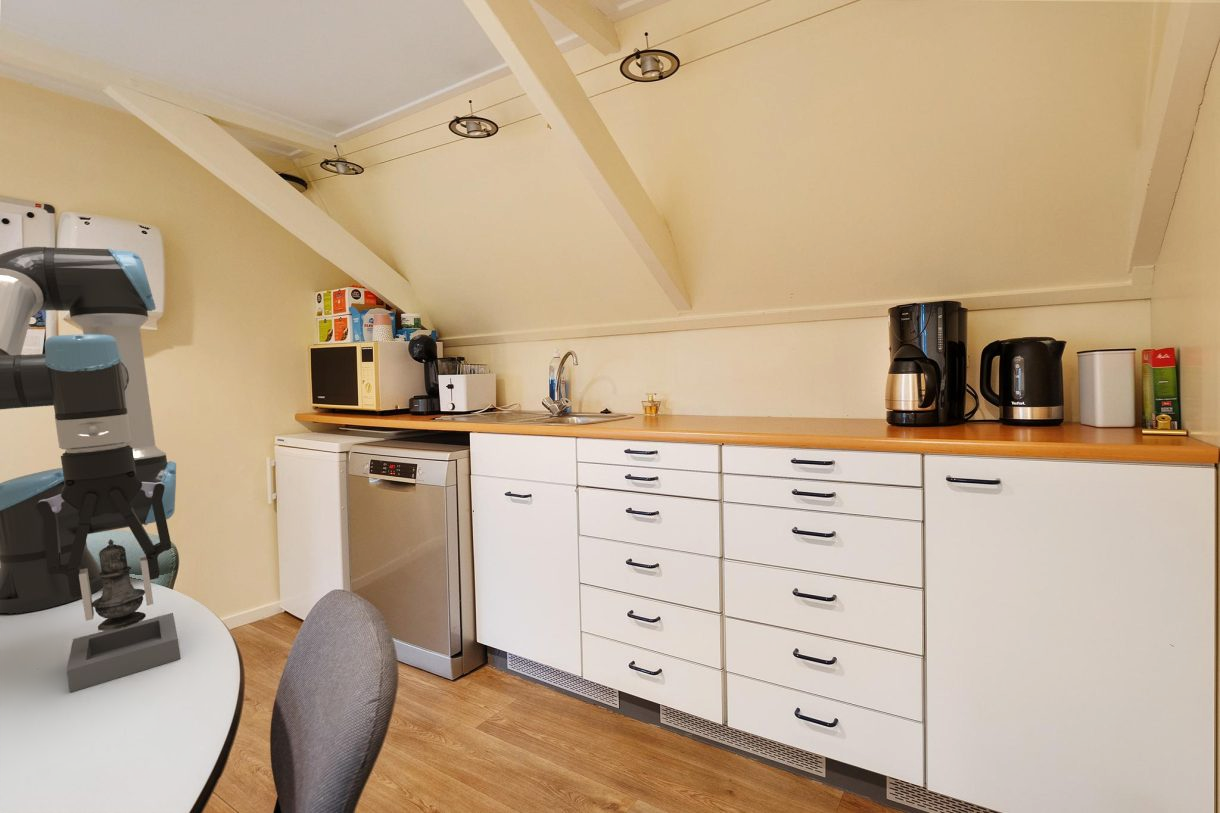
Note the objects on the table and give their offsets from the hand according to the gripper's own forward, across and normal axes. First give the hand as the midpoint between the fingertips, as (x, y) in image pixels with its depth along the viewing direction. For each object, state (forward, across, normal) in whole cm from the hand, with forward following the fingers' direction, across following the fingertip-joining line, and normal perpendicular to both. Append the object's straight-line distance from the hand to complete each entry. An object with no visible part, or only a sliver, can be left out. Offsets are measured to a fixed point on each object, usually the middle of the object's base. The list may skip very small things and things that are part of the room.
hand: (120, 609), depth 83 cm
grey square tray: (+7, 0, 0) cm, 7 cm away
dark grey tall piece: (+2, 0, 0) cm, 2 cm away
